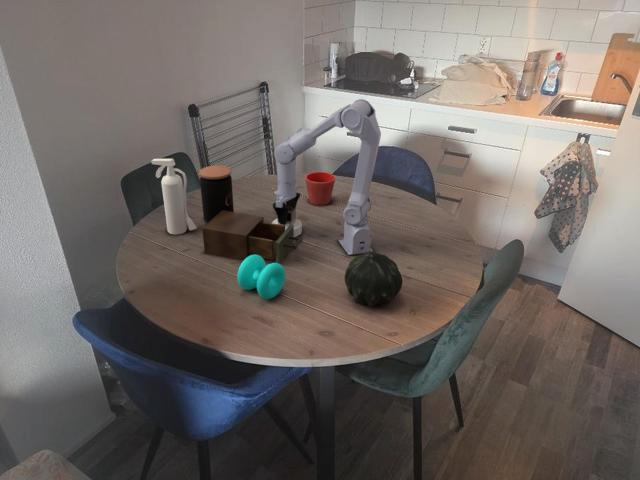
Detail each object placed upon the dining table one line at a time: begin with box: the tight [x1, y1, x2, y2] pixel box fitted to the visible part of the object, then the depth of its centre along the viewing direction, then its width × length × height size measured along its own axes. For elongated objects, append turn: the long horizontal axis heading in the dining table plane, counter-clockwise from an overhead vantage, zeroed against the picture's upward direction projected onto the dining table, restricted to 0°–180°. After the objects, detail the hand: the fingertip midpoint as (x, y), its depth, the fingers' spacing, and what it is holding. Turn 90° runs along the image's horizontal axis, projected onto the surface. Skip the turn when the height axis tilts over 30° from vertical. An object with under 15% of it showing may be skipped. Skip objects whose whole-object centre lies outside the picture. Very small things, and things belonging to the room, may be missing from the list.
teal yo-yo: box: [236, 255, 286, 300], centre depth 133 cm, size 10×10×10 cm
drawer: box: [247, 221, 303, 264], centre depth 152 cm, size 18×12×7 cm
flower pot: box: [305, 171, 336, 206], centre depth 185 cm, size 11×11×10 cm
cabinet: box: [201, 210, 265, 261], centre depth 156 cm, size 15×14×9 cm
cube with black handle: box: [278, 207, 297, 226], centre depth 163 cm, size 5×4×5 cm
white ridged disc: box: [271, 217, 303, 238], centre depth 165 cm, size 10×10×4 cm
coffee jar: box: [198, 165, 235, 224], centre depth 170 cm, size 11×11×18 cm
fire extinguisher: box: [150, 158, 197, 236], centre depth 161 cm, size 7×12×25 cm, turn 74°
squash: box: [344, 251, 403, 307], centre depth 130 cm, size 14×15×15 cm
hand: (286, 219), depth 164 cm, fingers open, 7 cm apart
